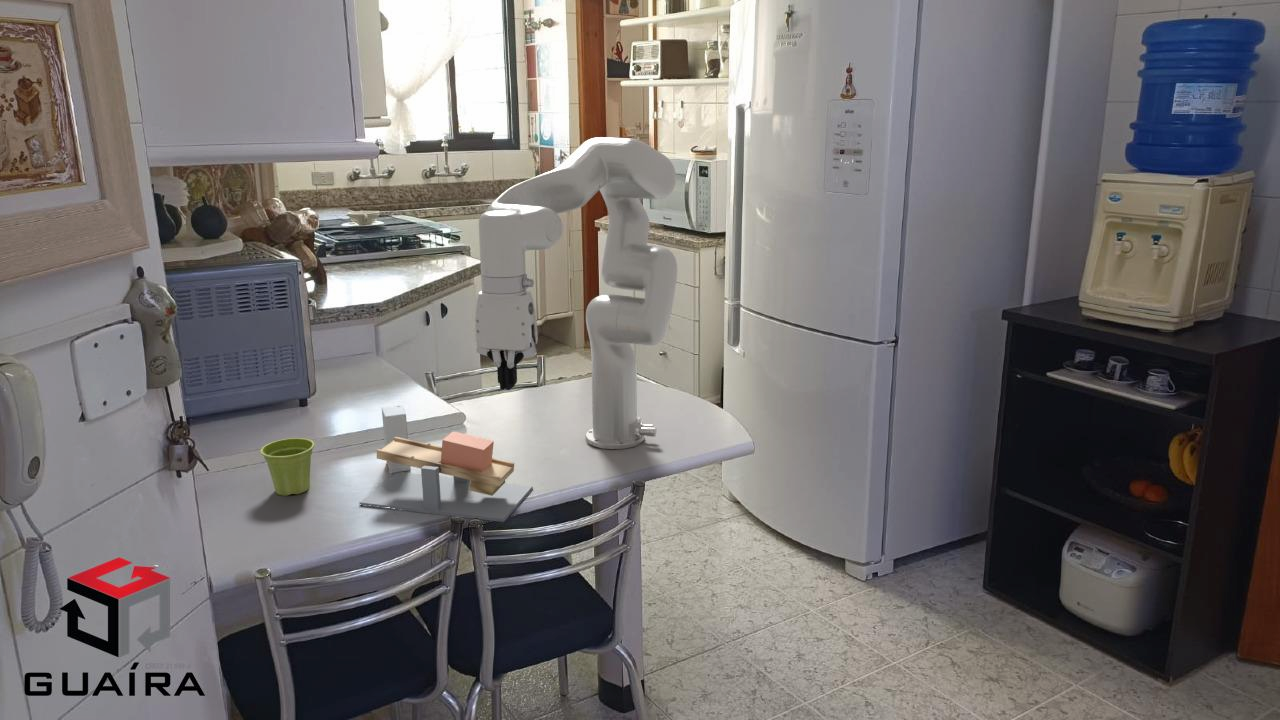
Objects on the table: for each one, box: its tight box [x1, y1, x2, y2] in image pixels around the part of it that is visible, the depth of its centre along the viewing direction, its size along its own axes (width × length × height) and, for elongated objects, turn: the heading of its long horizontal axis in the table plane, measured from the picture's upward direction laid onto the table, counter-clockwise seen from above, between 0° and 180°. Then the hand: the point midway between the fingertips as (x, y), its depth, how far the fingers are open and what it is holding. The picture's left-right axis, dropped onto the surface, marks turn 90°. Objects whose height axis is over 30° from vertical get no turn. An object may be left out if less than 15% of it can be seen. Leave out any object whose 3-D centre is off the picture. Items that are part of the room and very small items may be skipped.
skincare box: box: [381, 404, 412, 474], centre depth 187 cm, size 6×4×12 cm
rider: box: [441, 431, 495, 472], centre depth 171 cm, size 8×4×4 cm, turn 76°
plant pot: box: [260, 437, 315, 497], centre depth 176 cm, size 9×9×9 cm
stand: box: [359, 466, 534, 523], centre depth 173 cm, size 28×14×8 cm, turn 76°
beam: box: [376, 437, 515, 496], centre depth 173 cm, size 24×10×4 cm, turn 76°
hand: (507, 387), depth 165 cm, fingers closed
